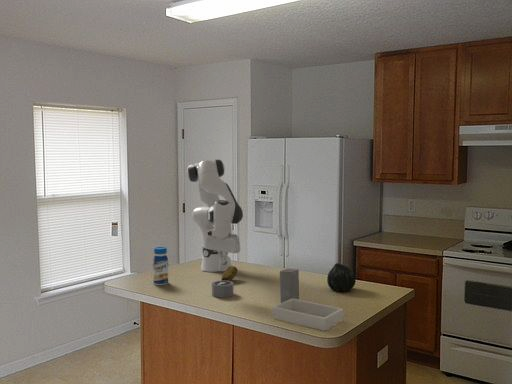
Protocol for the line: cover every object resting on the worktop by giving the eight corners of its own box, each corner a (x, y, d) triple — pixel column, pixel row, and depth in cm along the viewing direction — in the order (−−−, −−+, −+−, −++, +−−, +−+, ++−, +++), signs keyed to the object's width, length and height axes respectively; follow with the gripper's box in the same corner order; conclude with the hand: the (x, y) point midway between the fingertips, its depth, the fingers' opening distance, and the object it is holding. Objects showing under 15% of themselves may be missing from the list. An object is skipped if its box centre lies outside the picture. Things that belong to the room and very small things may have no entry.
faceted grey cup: (221, 290, 258) (221, 279, 257) (238, 294, 251) (237, 282, 250) (207, 295, 249) (207, 283, 248) (223, 299, 242) (223, 287, 242)
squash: (365, 280, 256) (348, 256, 262) (349, 287, 245) (332, 262, 251) (348, 294, 264) (332, 270, 270) (332, 301, 254) (316, 277, 259)
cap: (222, 290, 254) (222, 280, 254) (231, 292, 250) (230, 282, 250) (214, 293, 249) (214, 283, 249) (223, 295, 246) (223, 285, 245)
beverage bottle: (170, 281, 276) (169, 246, 275) (166, 285, 268) (165, 249, 266) (155, 281, 277) (155, 246, 275) (151, 285, 268) (150, 249, 267)
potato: (215, 282, 274) (215, 268, 274) (231, 278, 284) (231, 264, 283) (225, 285, 269) (225, 270, 268) (241, 280, 278) (241, 266, 278)
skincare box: (291, 305, 232) (292, 272, 230) (278, 303, 235) (278, 270, 234) (300, 301, 239) (300, 269, 238) (287, 298, 243) (287, 267, 241)
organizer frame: (292, 308, 227) (292, 298, 226) (343, 320, 211) (343, 308, 210) (272, 318, 214) (272, 306, 214) (324, 330, 198) (324, 318, 198)
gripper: (242, 233, 244) (243, 261, 245) (212, 230, 256) (212, 256, 257) (234, 235, 239) (235, 263, 240) (203, 231, 251) (204, 258, 252)
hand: (223, 259), depth 249 cm, fingers closed
